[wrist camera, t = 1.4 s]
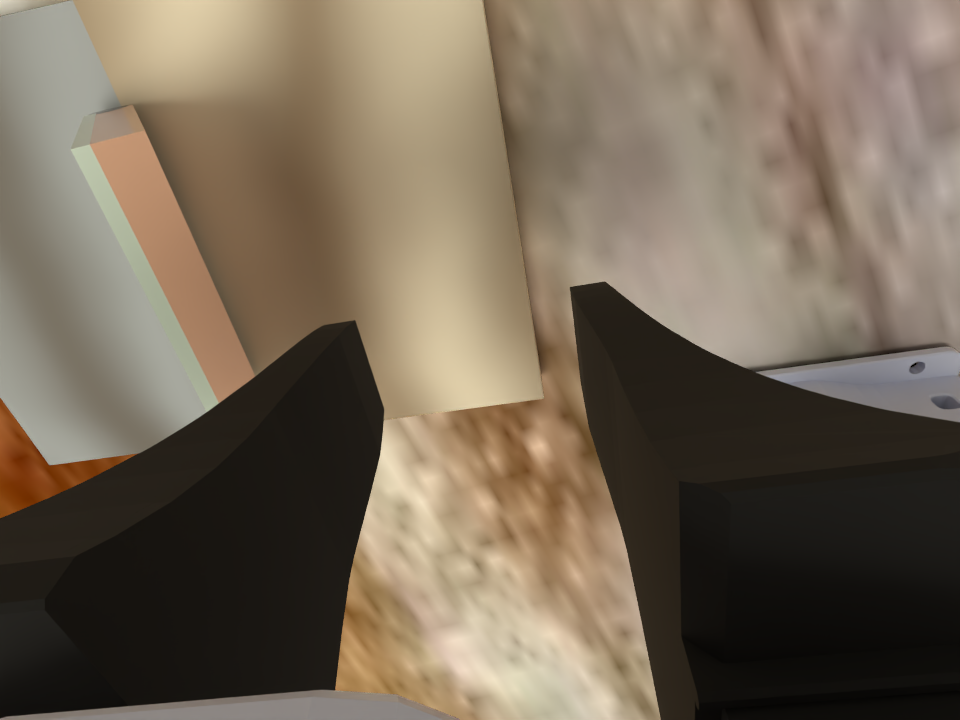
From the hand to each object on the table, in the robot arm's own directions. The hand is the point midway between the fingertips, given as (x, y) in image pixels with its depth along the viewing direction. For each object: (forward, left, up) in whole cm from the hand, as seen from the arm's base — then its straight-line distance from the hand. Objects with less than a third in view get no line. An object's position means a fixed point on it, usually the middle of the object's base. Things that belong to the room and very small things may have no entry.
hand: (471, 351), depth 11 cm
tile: (+7, 0, -5) cm, 8 cm away
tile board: (+9, 0, -9) cm, 13 cm away
